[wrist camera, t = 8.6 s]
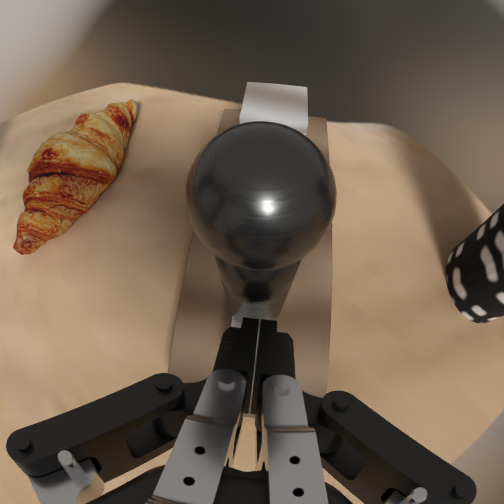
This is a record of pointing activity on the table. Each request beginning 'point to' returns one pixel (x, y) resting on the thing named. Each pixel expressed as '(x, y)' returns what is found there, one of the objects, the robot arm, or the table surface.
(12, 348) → the table surface
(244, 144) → the bolt
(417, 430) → the table surface
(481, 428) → the table surface
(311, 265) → the door board
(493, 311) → the spotted tube
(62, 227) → the croissant
